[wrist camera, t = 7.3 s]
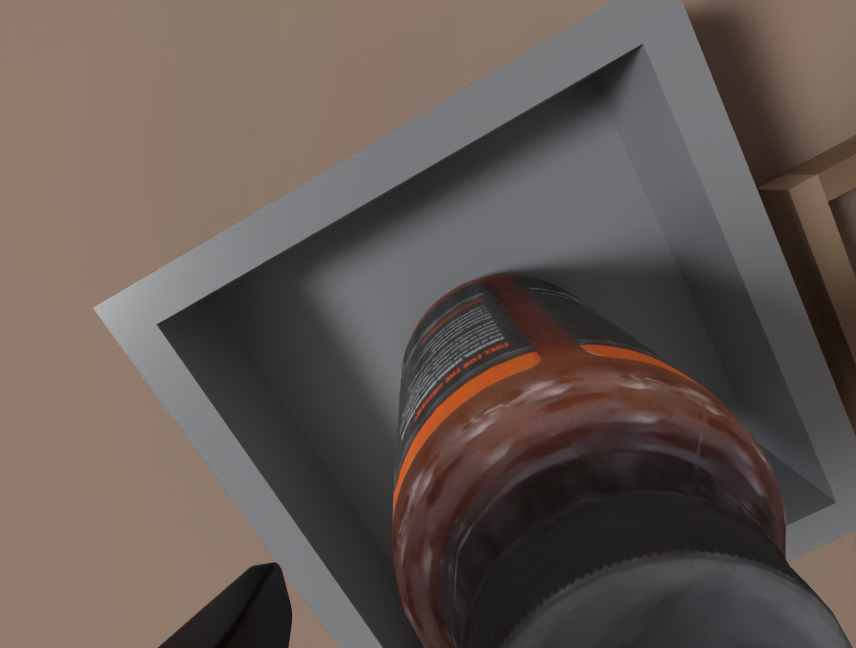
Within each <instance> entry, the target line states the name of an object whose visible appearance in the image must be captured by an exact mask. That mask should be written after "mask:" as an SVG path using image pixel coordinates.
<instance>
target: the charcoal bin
mask: <svg viewBox="0 0 856 648" xmlns="http://www.w3.org/2000/svg"><path fill="white" fill-rule="evenodd" d="M494 275H521V276H528V277H533V278H537V279H541V280H544V281H546V282H548V283H551V284H553V285H555V286H558V287H560V288H562V289H564V290H565V291H567V292H569V293H570V294H572V295H573V296H575V297H577V298H578V299H580V300H581V301H582V302H583V303H585V304H586V305H588V306H589V307H590V308H592V309H593V310H595V311H596V312H598V313H599V314H601V315H602V316H604V317H605V318H606V319H608V320H609V321H611V322H612V323H614V324H615V325H616V326H618V327H620V328H621V329H622V330H624V331H625V332H627V333H628V334H630V335H631V336H633V337H634V338H635V339H637V340H638V341H639V342H640V343H642V344H643V345H645V346H646V347H648V348H649V349H650V350H652V351H653V352H655V353H656V354H657V355H659V356H660V357H661V358H663V359H665V360H667V361H669V362H670V363H671V364H672V365H673V366H674V367H675V368H677V369H678V370H680V371H681V372H683V373H684V374H685V375H686V376H688V377H689V378H691V379H692V380H694V381H695V382H697V383H698V384H699V385H701V386H702V387H704V388H705V389H706V390H708V391H709V392H710V393H711V394H712V395H713V396H715V397H716V398H717V399H718V400H719V401H720V402H721V403H722V404H723V405H724V406H725V407H726V408H727V409H728V410H729V411H730V412H731V413H732V414H733V415H734V416H736V417H737V418H738V420H739V421H740V422H741V423H742V424H743V425H744V426H745V427H746V429H747V430H748V431H749V432H750V433H751V435H752V436H753V437H754V439H755V441H756V443H757V444H758V445H759V446H760V448H761V449H762V450H763V452H764V454H765V456H766V457H767V459H768V461H769V463H770V465H771V467H772V469H773V472H774V476H775V479H776V481H777V483H778V486H779V490H780V493H781V496H782V501H783V505H784V508H785V511H786V549H785V552H786V561H787V562H788V561H790V560H792V559H794V558H797V557H799V556H801V555H803V554H805V553H808V552H810V551H812V550H814V549H816V548H818V547H821V546H823V545H825V544H827V543H829V542H832V541H834V540H836V539H838V538H840V537H842V536H845V535H847V534H849V533H851V532H853V531H856V436H855V433H854V431H853V428H852V426H851V423H850V421H849V418H848V416H847V413H846V411H845V408H844V406H843V403H842V401H841V398H840V396H839V393H838V391H837V388H836V386H835V383H834V381H833V378H832V376H831V373H830V371H829V368H828V366H827V363H826V361H825V358H824V356H823V353H822V351H821V348H820V346H819V343H818V341H817V338H816V336H815V333H814V331H813V328H812V325H811V323H810V320H809V318H808V315H807V313H806V310H805V308H804V305H803V303H802V300H801V298H800V295H799V293H798V290H797V288H796V285H795V283H794V280H793V278H792V275H791V273H790V270H789V268H788V265H787V263H786V260H785V258H784V255H783V253H782V250H781V248H780V245H779V243H778V240H777V238H776V235H775V233H774V230H773V228H772V225H771V223H770V220H769V218H768V215H767V213H766V210H765V208H764V205H763V203H762V200H761V198H760V195H759V193H758V190H757V188H756V185H755V183H754V180H753V178H752V175H751V173H750V170H749V167H748V165H747V162H746V160H745V157H744V155H743V152H742V150H741V147H740V145H739V142H738V140H737V137H736V135H735V132H734V130H733V127H732V125H731V122H730V120H729V117H728V115H727V112H726V110H725V107H724V105H723V102H722V100H721V97H720V95H719V92H718V90H717V87H716V85H715V82H714V80H713V77H712V75H711V72H710V70H709V67H708V65H707V62H706V60H705V57H704V55H703V52H702V50H701V47H700V45H699V42H698V40H697V37H696V35H695V32H694V30H693V27H692V25H691V22H690V20H689V17H688V15H687V12H686V10H685V7H684V4H683V2H682V0H614V1H612V2H611V3H609V4H607V5H606V6H604V7H602V8H601V9H599V10H597V11H595V12H594V13H592V14H590V15H589V16H587V17H585V18H584V19H582V20H580V21H578V22H577V23H575V24H573V25H572V26H570V27H568V28H567V29H565V30H563V31H562V32H560V33H558V34H556V35H555V36H553V37H551V38H550V39H548V40H546V41H545V42H543V43H541V44H540V45H538V46H536V47H534V48H533V49H531V50H529V51H528V52H526V53H524V54H523V55H521V56H519V57H517V58H516V59H514V60H512V61H511V62H509V63H507V64H506V65H504V66H502V67H501V68H499V69H497V70H495V71H494V72H492V73H490V74H489V75H487V76H485V77H484V78H482V79H480V80H478V81H477V82H475V83H473V84H472V85H470V86H468V87H467V88H465V89H463V90H462V91H460V92H458V93H456V94H455V95H453V96H451V97H450V98H448V99H446V100H445V101H443V102H441V103H440V104H438V105H436V106H434V107H433V108H431V109H429V110H428V111H426V112H424V113H423V114H421V115H419V116H417V117H416V118H414V119H412V120H411V121H409V122H407V123H406V124H404V125H402V126H401V127H399V128H397V129H395V130H394V131H392V132H390V133H389V134H387V135H385V136H384V137H382V138H380V139H379V140H377V141H375V142H373V143H372V144H370V145H368V146H367V147H365V148H363V149H362V150H360V151H358V152H356V153H355V154H353V155H351V156H350V157H348V158H346V159H345V160H343V161H341V162H340V163H338V164H336V165H334V166H333V167H331V168H329V169H328V170H326V171H324V172H323V173H321V174H319V175H317V176H316V177H314V178H312V179H311V180H309V181H307V182H306V183H304V184H302V185H301V186H299V187H297V188H295V189H294V190H292V191H290V192H289V193H287V194H285V195H284V196H282V197H280V198H279V199H277V200H275V201H273V202H272V203H270V204H268V205H267V206H265V207H263V208H262V209H260V210H258V211H256V212H255V213H253V214H251V215H250V216H248V217H246V218H245V219H243V220H241V221H240V222H238V223H236V224H234V225H233V226H231V227H229V228H228V229H226V230H224V231H223V232H221V233H219V234H218V235H216V236H214V237H212V238H211V239H209V240H207V241H206V242H204V243H202V244H201V245H199V246H197V247H195V248H194V249H192V250H190V251H189V252H187V253H185V254H184V255H182V256H180V257H179V258H177V259H175V260H173V261H172V262H170V263H168V264H167V265H165V266H163V267H162V268H160V269H158V270H156V271H155V272H153V273H151V274H150V275H148V276H146V277H145V278H143V279H141V280H140V281H138V282H136V283H134V284H133V285H131V286H129V287H128V288H126V289H124V290H123V291H121V292H119V293H118V294H116V295H114V296H112V297H111V298H109V299H107V300H106V301H104V302H102V303H101V304H99V305H97V306H95V307H94V308H93V309H94V310H95V311H96V313H97V314H98V316H99V317H100V318H101V320H102V321H103V322H104V324H105V325H106V327H107V328H108V329H109V331H110V332H111V333H112V335H113V336H114V338H115V339H116V340H117V342H118V343H119V345H120V346H121V347H122V349H123V350H124V351H125V353H126V354H127V356H128V357H129V358H130V360H131V361H132V363H133V364H134V365H135V367H136V368H137V369H138V371H139V372H140V374H141V375H142V376H143V378H144V379H145V380H146V382H147V383H148V385H149V386H150V387H151V389H152V390H153V392H154V393H155V394H156V396H157V397H158V398H159V400H160V401H161V403H162V404H163V405H164V407H165V408H166V409H167V411H168V412H169V414H170V415H171V416H172V418H173V419H174V421H175V422H176V423H177V425H178V426H179V427H180V429H181V430H182V432H183V433H184V434H185V436H186V437H187V438H188V440H189V441H190V443H191V444H192V445H193V447H194V448H195V450H196V451H197V452H198V454H199V455H200V456H201V458H202V459H203V461H204V462H205V463H206V465H207V466H208V467H209V469H210V470H211V472H212V473H213V474H214V476H215V477H216V479H217V480H218V481H219V483H220V484H221V485H222V487H223V488H224V490H225V491H226V492H227V494H228V495H229V496H230V498H231V499H232V501H233V502H234V503H235V505H236V506H237V508H238V509H239V510H240V512H241V513H242V514H243V516H244V517H245V519H246V520H247V521H248V523H249V524H250V525H251V527H252V528H253V530H254V531H255V532H256V534H257V535H258V537H259V538H260V539H261V541H262V542H263V543H264V545H265V546H266V548H267V549H268V550H269V552H270V553H271V554H272V556H273V557H274V559H275V560H276V561H277V563H278V564H279V566H280V567H281V568H282V570H283V571H284V572H285V574H286V575H287V577H288V578H289V579H290V581H291V582H292V583H293V585H294V586H295V588H296V589H297V590H298V592H299V593H300V595H301V596H302V597H303V599H304V600H305V601H306V603H307V604H308V606H309V607H310V608H311V610H312V611H313V612H314V614H315V615H316V617H317V618H318V619H319V621H320V622H321V624H322V625H323V626H324V628H325V629H326V630H327V632H328V633H329V635H330V636H331V637H332V639H333V640H334V641H335V643H336V644H337V646H338V647H339V648H425V647H424V645H423V644H422V642H421V640H420V639H419V638H418V636H417V634H416V632H415V630H414V628H413V626H412V624H411V623H410V621H409V619H408V617H407V615H406V613H405V611H404V608H403V604H402V602H401V599H400V595H399V591H398V587H397V582H396V576H395V571H394V565H393V551H392V524H393V500H394V483H395V459H396V441H397V428H398V413H399V392H400V380H401V367H402V362H403V358H404V354H405V350H406V347H407V344H408V341H409V339H410V336H411V334H412V332H413V330H414V328H415V327H416V325H417V323H418V322H419V321H420V319H421V318H422V317H423V315H424V314H425V313H426V312H427V310H428V309H429V308H430V307H431V306H432V305H433V304H434V303H435V302H436V301H438V300H439V299H440V298H441V297H443V296H444V295H445V294H447V293H448V292H450V291H451V290H453V289H455V288H456V287H458V286H460V285H462V284H464V283H466V282H469V281H471V280H474V279H478V278H483V277H488V276H494Z"/></svg>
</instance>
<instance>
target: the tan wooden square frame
mask: <svg viewBox="0 0 856 648" xmlns="http://www.w3.org/2000/svg"><path fill="white" fill-rule="evenodd" d="M855 187H856V135H855V136H854V137H852V138H850V139H848V140H846V141H844V142H842V143H840V144H839V145H837V146H835V147H833V148H831V149H829V150H827V151H826V152H824V153H822V154H820V155H818V156H816V157H814V158H812V159H811V160H809V161H807V162H805V163H803V164H801V165H799V166H798V167H796V168H794V169H792V170H790V171H788V172H786V173H784V174H783V175H781V176H779V177H777V178H775V179H773V180H771V181H770V182H768V183H766V184H764V185H762V186H760V187H758V188H757V190H758V193H759V195H760V198H761V200H762V203H763V205H764V208H765V210H766V213H767V215H768V218H769V220H770V223H771V225H772V228H773V230H774V233H775V235H776V238H777V240H778V243H779V245H780V248H781V250H782V253H783V255H784V258H785V260H786V263H787V265H788V268H789V270H790V273H791V275H792V278H793V280H794V283H795V285H796V288H797V290H798V293H799V295H800V298H801V300H802V303H803V305H804V308H805V310H806V313H807V315H808V318H809V320H810V323H811V325H812V328H813V331H814V333H815V336H816V338H817V341H818V343H819V346H820V348H821V351H822V353H823V356H824V358H825V361H826V363H827V366H828V368H829V371H830V373H831V376H832V378H833V381H834V383H835V386H836V388H837V391H838V393H839V396H840V398H841V401H842V403H843V406H844V408H845V411H846V413H847V416H848V418H849V421H850V423H851V426H852V428H853V431H854V433H855V436H856V277H855V274H854V272H853V269H852V266H851V263H850V261H849V258H848V255H847V253H846V250H845V247H844V244H843V242H842V239H841V236H840V234H839V231H838V228H837V226H836V223H835V220H834V217H833V215H832V212H831V209H830V207H829V204H828V202H829V201H830V200H832V199H834V198H836V197H838V196H840V195H842V194H844V193H846V192H848V191H849V190H851V189H853V188H855Z"/></svg>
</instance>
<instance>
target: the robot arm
mask: <svg viewBox="0 0 856 648" xmlns="http://www.w3.org/2000/svg"><path fill="white" fill-rule="evenodd" d="M291 625H292V609H291V604H290V600H289V596H288V592H287V588H286V584H285V581H284V577H283V573H282V570H281V568H280V566H279V565H278V564H277V563H267V564H260V565H254V566H251V567H250V568H249V569H247V570H246V571H245V572H244V573H243V574H242V575H241V576H239V577H238V578H237V579H236V580H235V581H234V582H232V583H231V584H230V585H229V586H228V587H227V588H226V589H224V590H223V591H222V592H221V593H220V594H219V595H218V596H216V597H215V598H214V599H213V600H212V601H211V602H210V603H208V604H207V605H206V606H205V607H204V608H203V609H202V610H200V611H199V612H198V613H197V614H196V615H195V616H194V617H192V618H191V619H190V620H189V621H188V622H187V623H185V624H184V625H183V626H182V627H181V628H180V629H179V630H177V631H176V632H175V633H174V634H173V635H172V636H171V637H169V638H168V639H167V640H166V641H165V642H164V643H163V644H161V645H160V646H159V647H158V648H288V647H289V640H290V632H291Z"/></svg>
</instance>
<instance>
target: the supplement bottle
mask: <svg viewBox="0 0 856 648" xmlns="http://www.w3.org/2000/svg"><path fill="white" fill-rule="evenodd" d="M785 549H786V511H785V508H784V505H783V501H782V496H781V493H780V490H779V486H778V483H777V481H776V479H775V476H774V472H773V469H772V467H771V465H770V463H769V461H768V459H767V457H766V456H765V454H764V452H763V450H762V449H761V448H760V446H759V445H758V444H757V443H756V441H755V439H754V437H753V436H752V435H751V433H750V432H749V431H748V430H747V429H746V427H745V426H744V425H743V424H742V423H741V422H740V421H739V420H738V418H737V417H736V416H734V415H733V414H732V413H731V412H730V411H729V410H728V409H727V408H726V407H725V406H724V405H723V404H722V403H721V402H720V401H719V400H718V399H717V398H716V397H715V396H713V395H712V394H711V393H710V392H709V391H708V390H706V389H705V388H704V387H702V386H701V385H699V384H698V383H697V382H695V381H694V380H692V379H691V378H689V377H688V376H686V375H685V374H684V373H683V372H681V371H680V370H678V369H677V368H675V367H674V366H673V365H672V364H671V363H670V362H669V361H667V360H665V359H663V358H661V357H660V356H659V355H657V354H656V353H655V352H653V351H652V350H650V349H649V348H648V347H646V346H645V345H643V344H642V343H640V342H639V341H638V340H637V339H635V338H634V337H633V336H631V335H630V334H628V333H627V332H625V331H624V330H622V329H621V328H620V327H618V326H616V325H615V324H614V323H612V322H611V321H609V320H608V319H606V318H605V317H604V316H602V315H601V314H599V313H598V312H596V311H595V310H593V309H592V308H590V307H589V306H588V305H586V304H585V303H583V302H582V301H581V300H580V299H578V298H577V297H575V296H573V295H572V294H570V293H569V292H567V291H565V290H564V289H562V288H560V287H558V286H555V285H553V284H551V283H548V282H546V281H544V280H541V279H537V278H533V277H528V276H521V275H494V276H488V277H483V278H478V279H474V280H471V281H469V282H466V283H464V284H462V285H460V286H458V287H456V288H455V289H453V290H451V291H450V292H448V293H447V294H445V295H444V296H443V297H441V298H440V299H439V300H438V301H436V302H435V303H434V304H433V305H432V306H431V307H430V308H429V309H428V310H427V312H426V313H425V314H424V315H423V317H422V318H421V319H420V321H419V322H418V323H417V325H416V327H415V328H414V330H413V332H412V334H411V336H410V339H409V341H408V344H407V347H406V350H405V354H404V358H403V362H402V367H401V380H400V392H399V413H398V428H397V441H396V459H395V483H394V500H393V524H392V551H393V565H394V571H395V576H396V582H397V587H398V591H399V595H400V599H401V602H402V604H403V608H404V611H405V613H406V615H407V617H408V619H409V621H410V623H411V624H412V626H413V628H414V630H415V632H416V634H417V636H418V638H419V639H420V640H421V642H422V644H423V645H424V647H425V648H852V646H851V644H850V642H849V640H848V639H847V637H846V635H845V633H844V632H843V630H842V628H841V626H840V624H839V623H838V621H837V619H836V617H835V615H834V614H833V612H832V611H831V610H830V609H829V608H828V606H827V605H826V604H825V603H824V602H823V601H822V600H821V599H820V597H819V596H818V595H817V594H816V593H815V592H814V591H813V590H812V589H811V587H810V586H809V585H808V584H807V583H806V582H805V581H804V580H803V579H802V578H801V577H800V576H799V575H798V574H797V573H796V572H795V571H794V570H793V569H792V568H791V567H790V566H789V564H788V563H787V561H786V552H785Z"/></svg>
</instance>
